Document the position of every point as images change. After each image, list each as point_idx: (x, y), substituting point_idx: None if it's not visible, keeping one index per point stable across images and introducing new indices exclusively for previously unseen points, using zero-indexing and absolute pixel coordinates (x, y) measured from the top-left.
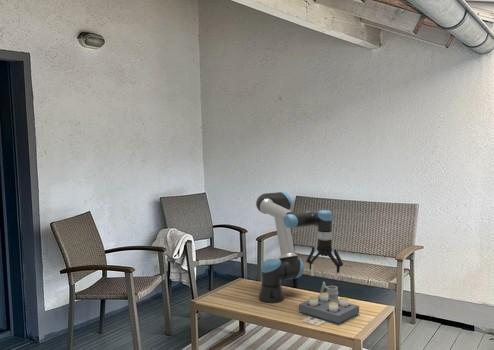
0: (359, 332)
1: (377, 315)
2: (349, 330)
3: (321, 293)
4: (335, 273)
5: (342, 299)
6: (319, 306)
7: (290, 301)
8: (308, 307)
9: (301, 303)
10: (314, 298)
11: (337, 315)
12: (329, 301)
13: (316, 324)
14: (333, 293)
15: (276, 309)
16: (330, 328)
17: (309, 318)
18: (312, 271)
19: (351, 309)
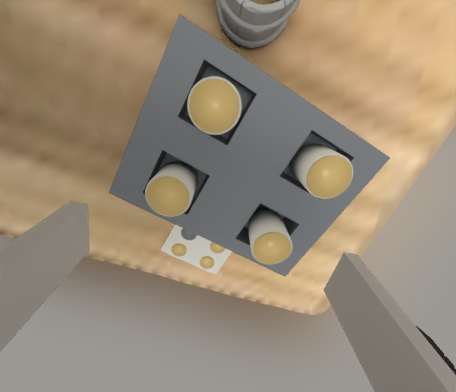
0: None
1: (441, 139)
2: (307, 280)
3: (196, 103)
4: (356, 345)
5: (320, 189)
6: (205, 201)
7: (26, 18)
8: (161, 216)
9: (117, 179)
10: (173, 201)
11: (281, 274)
12: (246, 121)
13: (210, 270)
14: (271, 22)
15: (25, 155)
16: (253, 277)
17: (179, 231)
18: (54, 287)
19: (343, 209)
